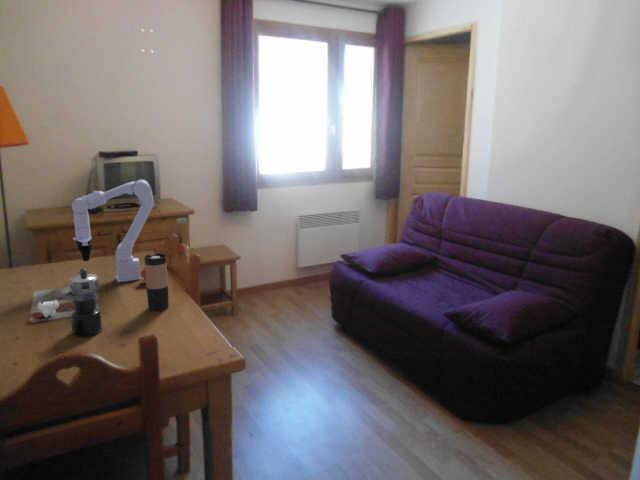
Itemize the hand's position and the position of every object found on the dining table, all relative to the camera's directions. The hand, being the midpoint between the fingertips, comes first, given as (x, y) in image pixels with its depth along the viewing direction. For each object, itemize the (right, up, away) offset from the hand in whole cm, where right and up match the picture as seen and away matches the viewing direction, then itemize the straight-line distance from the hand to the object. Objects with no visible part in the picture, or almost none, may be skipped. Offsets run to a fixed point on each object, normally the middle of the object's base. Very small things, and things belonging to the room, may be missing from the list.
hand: (85, 258), depth 212 cm
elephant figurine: (+3, -19, -33) cm, 39 cm away
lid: (+4, -9, -9) cm, 14 cm away
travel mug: (+39, -18, -24) cm, 49 cm away
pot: (+3, -12, -7) cm, 15 cm away
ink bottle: (+22, -23, -45) cm, 55 cm away
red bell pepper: (+26, -11, +2) cm, 29 cm away
